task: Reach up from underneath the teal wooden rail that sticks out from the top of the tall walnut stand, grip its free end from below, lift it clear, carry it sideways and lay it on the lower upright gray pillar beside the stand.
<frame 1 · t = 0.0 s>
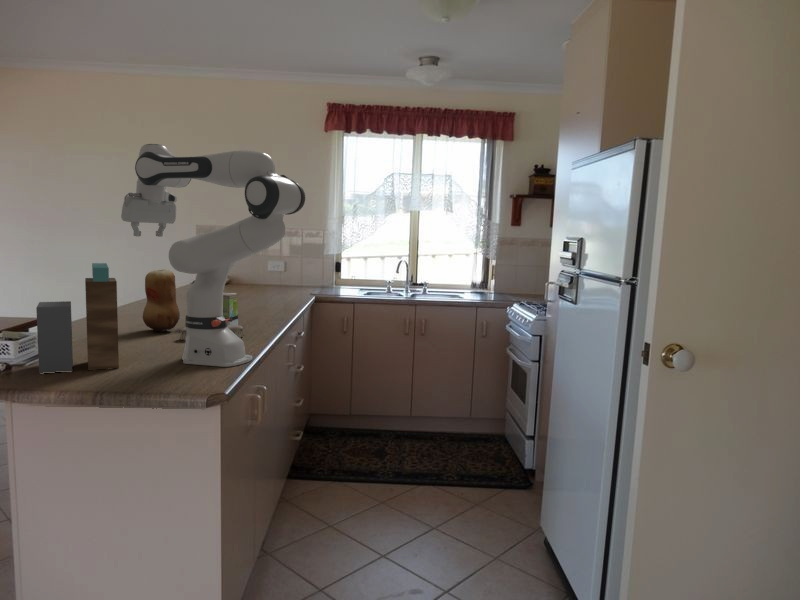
hand: (148, 236, 188), 39 cm above the countertop, tool pointing down, fingers open, 8 cm apart
tea box: (217, 328, 241), on the countertop
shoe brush: (212, 339, 218), on the countertop
butternut squash: (161, 331, 228), on the countertop
upright gray pillar: (56, 368, 165), on the countertop
tall stand: (103, 365, 171), on the countertop
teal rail: (100, 278, 171), point 26 cm above the countertop, touching tall stand
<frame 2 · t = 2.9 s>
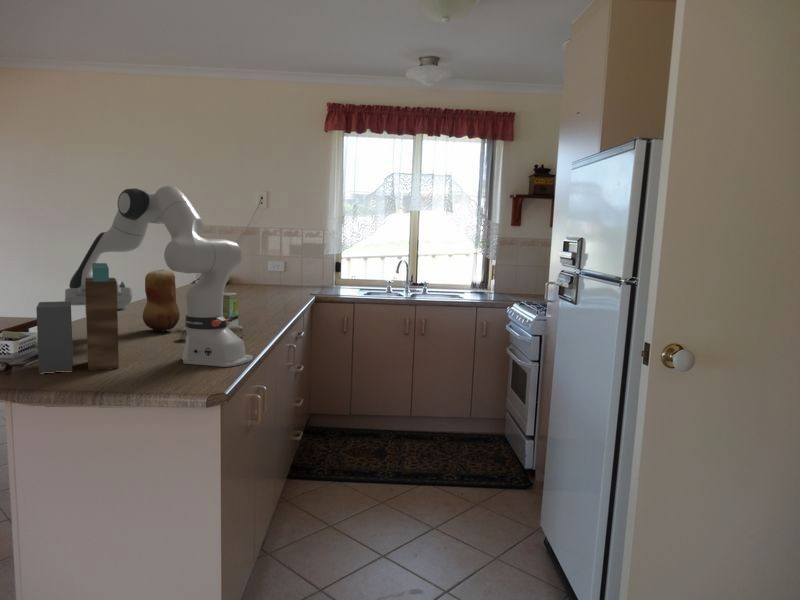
hand: (99, 286, 188), 22 cm above the countertop, tool pointing upward, fingers open, 8 cm apart
nothing on the countertop moved.
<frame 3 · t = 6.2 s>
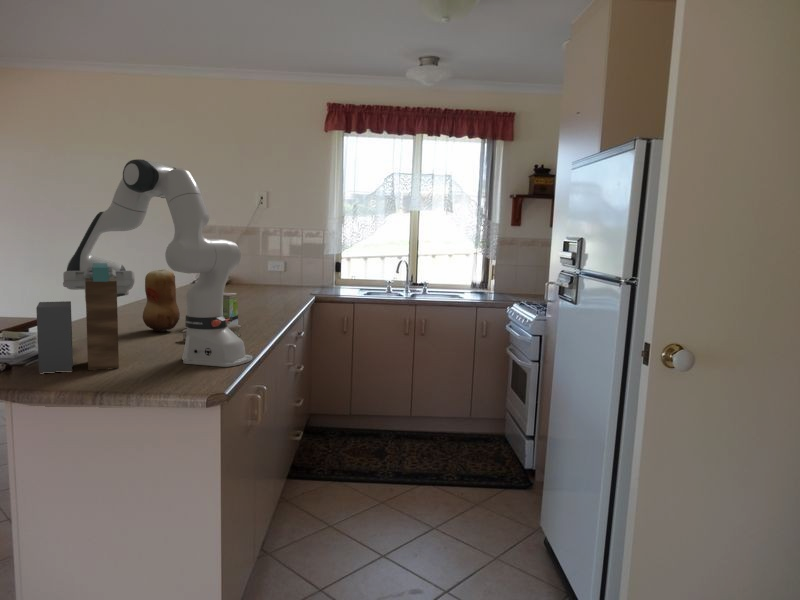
hand: (99, 268, 177), 28 cm above the countertop, tool pointing upward, fingers closed on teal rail, 4 cm apart
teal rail: (100, 278, 171), point 26 cm above the countertop, touching gripper, tall stand
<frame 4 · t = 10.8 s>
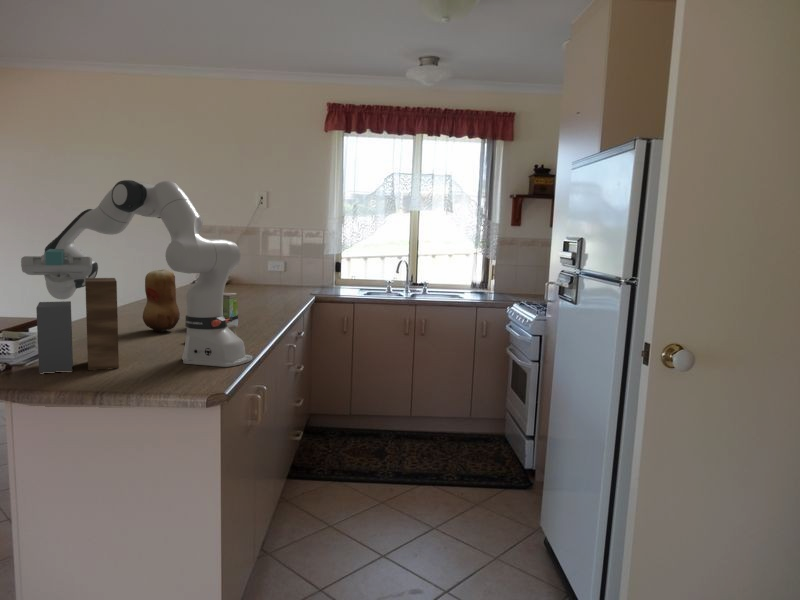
hand: (56, 254, 182), 32 cm above the countertop, tool pointing upward, fingers closed on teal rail, 4 cm apart
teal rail: (55, 263, 177), point 30 cm above the countertop, touching gripper
when the fingers open (22 cm above the countertop, at t = 15.2 s): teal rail drops 1 cm, resting on upright gray pillar.
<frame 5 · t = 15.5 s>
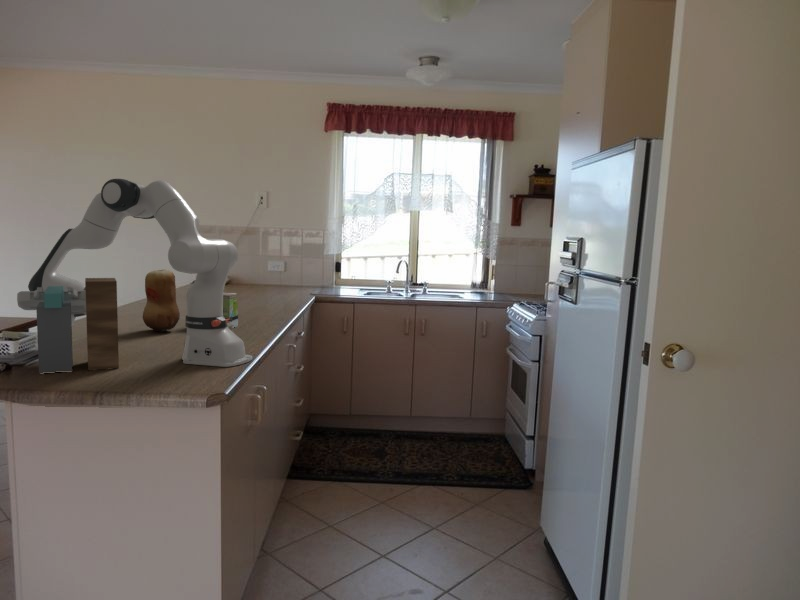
hand: (55, 289, 170), 22 cm above the countertop, tool pointing upward, fingers open, 6 cm apart
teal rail: (54, 303, 165), point 19 cm above the countertop, touching upright gray pillar
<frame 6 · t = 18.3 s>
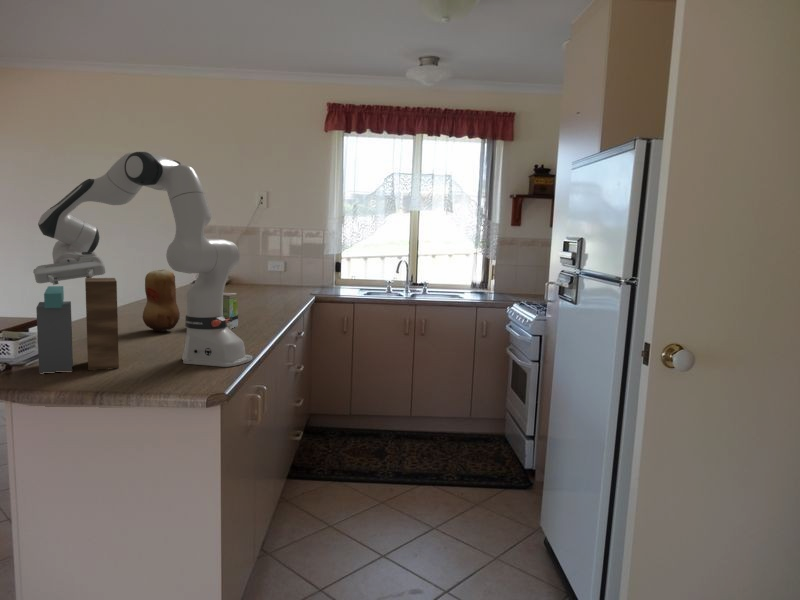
hand: (72, 280, 181), 24 cm above the countertop, tool tilted 70°, fingers open, 8 cm apart
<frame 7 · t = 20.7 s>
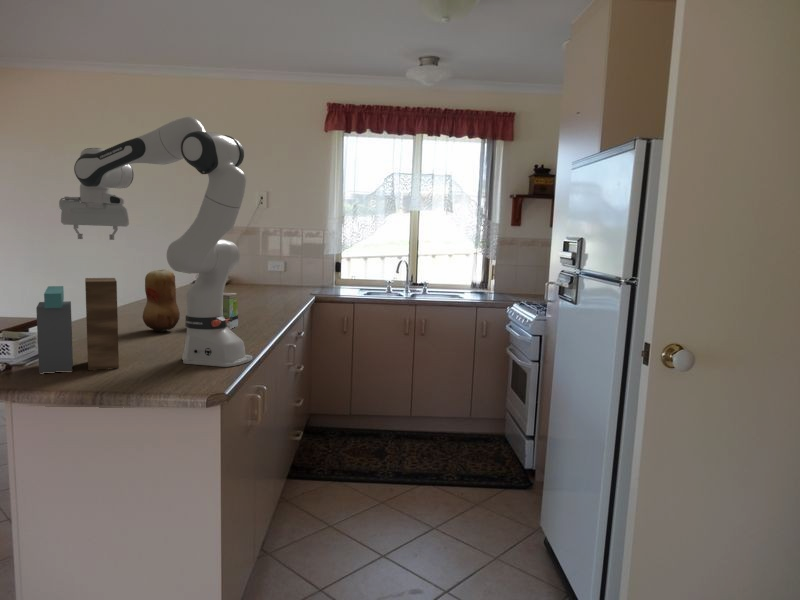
hand: (96, 239, 191), 37 cm above the countertop, tool pointing down, fingers open, 8 cm apart
at the end: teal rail inside the target area on the upright gray pillar (0.2 cm from its centre), point 19.0 cm above the upright gray pillar's base; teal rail touching upright gray pillar; the gripper is holding nothing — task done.
